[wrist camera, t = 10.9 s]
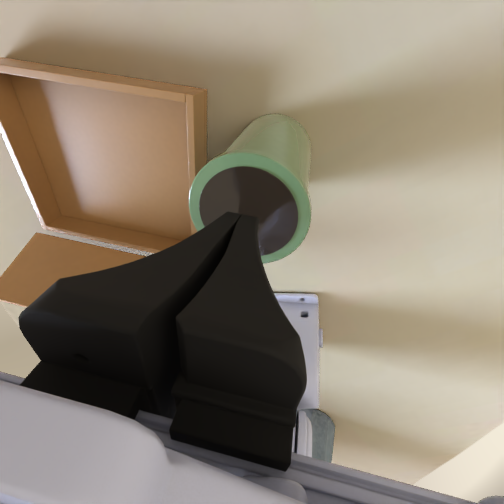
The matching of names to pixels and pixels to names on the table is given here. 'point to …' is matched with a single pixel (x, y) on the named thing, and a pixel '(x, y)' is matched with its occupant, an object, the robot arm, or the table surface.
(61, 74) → the carton
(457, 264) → the table surface
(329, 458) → the moka pot
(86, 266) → the flap
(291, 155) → the pot
